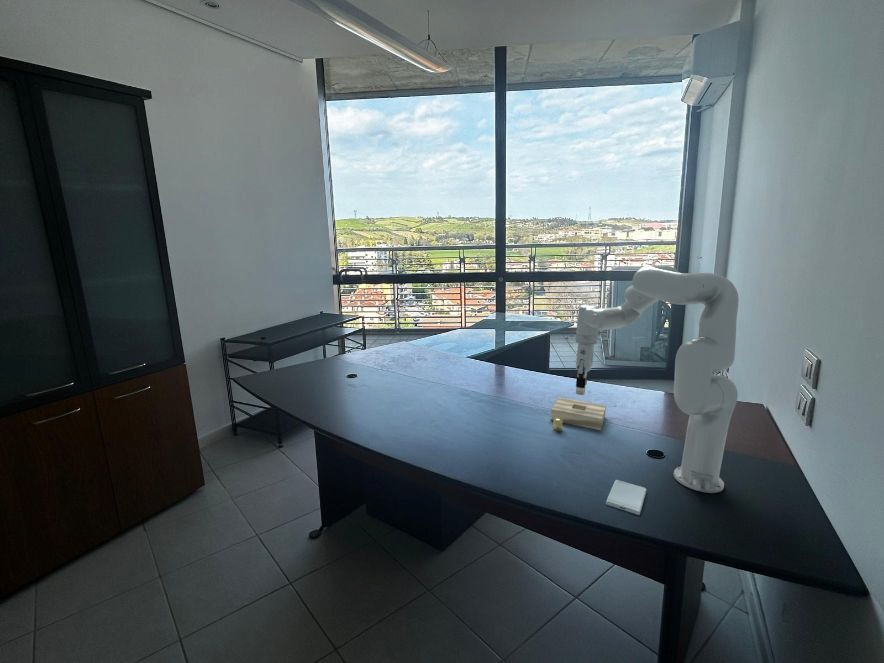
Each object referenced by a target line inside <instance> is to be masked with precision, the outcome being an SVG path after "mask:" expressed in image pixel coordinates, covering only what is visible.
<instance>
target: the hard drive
mask: <svg viewBox="0 0 884 663" xmlns="http://www.w3.org/2000/svg"><path fill="white" fill-rule="evenodd" d="M647 491H648V490H647V488H646V487H644V486H641V485H636V484H633V483H629V482H626V481H622V480H619V479H615V480H614V483H613V485H612V487H611V490H610V492H609V494H608V496H607V499H606V501H605V505H606V506H610V507H612V508H616V509H619V510H622V511H625V512H627V513H631V514H634V515H638V516H640V515H641V513H642V509H643V505H644V501H645V498H646V494H647Z"/></svg>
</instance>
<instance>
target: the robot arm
mask: <svg viewBox="0 0 884 663" xmlns="http://www.w3.org/2000/svg"><path fill="white" fill-rule="evenodd" d="M624 299H625V302H623V303H622V304H620V305H619V306H616V307H615V306H614V307H613V306H612V307H599V306H598V305H595V304H582V305H580V306H579V307H578V313H577V324H576V331H575V341H574V342H575V343H576V344H577V351H576V360H575V362H576V363H575V368H576V370H577V375H576V382H575V387H579V388H585V389H586V386H585V382H586V385H587V382H588V376H587V377H586V378H585V375H586V370H587V372H590V370H592V367H593V362H594V361H593V360H594V352H595V350H594V348H595V345H597V343H598V335H599V331H608V330H614V329H618V330H619V329H621V328H625V327H626V326H628V325H631V324H632V323H633V322H634V321H635V322H636V320H638V319H640V318H641V317H642V315H643V314H644V312H645V310H646V309H648V308H649V307H650V306H652V305H653V304H655V303H657V302H659V301H662V302H665V303H669V304H674V305H678V306H679V305H681V306H683V305H684V306H686V305H687V306H688V305H697V304H698V305H699V304H703V305H704V308H703V311H702V312H701V315H700V318H699V323H698V324H699V326H698V335H697V338H692V339H689V340H686V341H684V342H683V343H682V344H681V345H680V346H679V348H678V349H677V351H676V354H675V360H674V361H675V362H674V381H673V396H674V401H675V403H676V405H677V408H678V409H680V411H682V413H685V414H686V415H689V418H688V422H687V427H686V434H685V439H684V440H685V441H684V446H683V447H684V448H683V451H682V452H683V453H682V459H681V464H680V466H678V467H676V468H675V469H674V470H673V478H674V479H675V480H676V481H677V482H679V484H681V485H682V486H684V487H687V488H689V489H691V490H694V491H696V492H702V493H706V494H707V493H708V494H716V493H720V492H723V490H724V488H725V483H724V480H723V479H722V478H721V477H720V473H721V470H722V469H721V468H722V462H723V456H724V451H725V446H726V440H727V436H728V430H729V428H730V427H729V426H730V422H731V417H732V416H733V413H734V410H735V408H736V405H737V403H738V402H737V401H738V397H739V396H738V389H737V387H736V385H735V383H734V382H733V381H732V380H731V379H730V378H728V377H726V376H724V375H719V374H713V373H717V372H718V373H719V372H722V371H725V370H727V369H729V368H730V367H732V366H733V363H734V360H735V356H736V339H737V320H738V310H739V303H740V302H739V301H740V300H739V293H738V290H737V288H736V286H735V285H734V283H733V282H732V281H731V280H730V279H728V278H727V277H725V276H723V275H720V274H717V273H713V272H711V273H710V272H690V273H689V272H688V273H687V272H685V273H684V272H682V273H681V272H680V271H679V270H677V269H676V268H675V267H673V266H670V265H645V266H643V267H640V268H639V269H638V270H637V271H636V272H635V273H634V275H633V277H632V285H629V286H628V287H627V288H626V289H625V291H624ZM583 368H585V370H584V369H583ZM583 371H584V372H583Z"/></svg>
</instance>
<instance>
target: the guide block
mask: <svg viewBox="0 0 884 663" xmlns="http://www.w3.org/2000/svg"><path fill="white" fill-rule="evenodd" d="M606 409H607V406H606V405H604V404H598V403H593V402H589V401H588V402H587V401H581V400H576V399H570V398H565V397H559V396H558V398H557V400H556V401H555V402H554V405H553V406H552V407H551V409H550V421H553V422H554V418H556V417H558V418H562V419H563V424H566V425H573V426H578V427H581V428H582V427H583V428H587V429H592V430H596V431H597V430H598V431H602V428H603V424H604V421H605V418H606Z"/></svg>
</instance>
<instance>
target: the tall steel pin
mask: <svg viewBox="0 0 884 663" xmlns="http://www.w3.org/2000/svg"><path fill="white" fill-rule="evenodd" d="M583 369H584V370H585V368H583ZM583 372H584V371H583ZM586 377H587V378H588V371H587V370H586V375H585V378H586ZM586 386H587V384H586V382H585V388H579V387H576V386H575V387H576V388H575V394H576V395H579V396H584V395H585V394H586Z"/></svg>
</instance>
